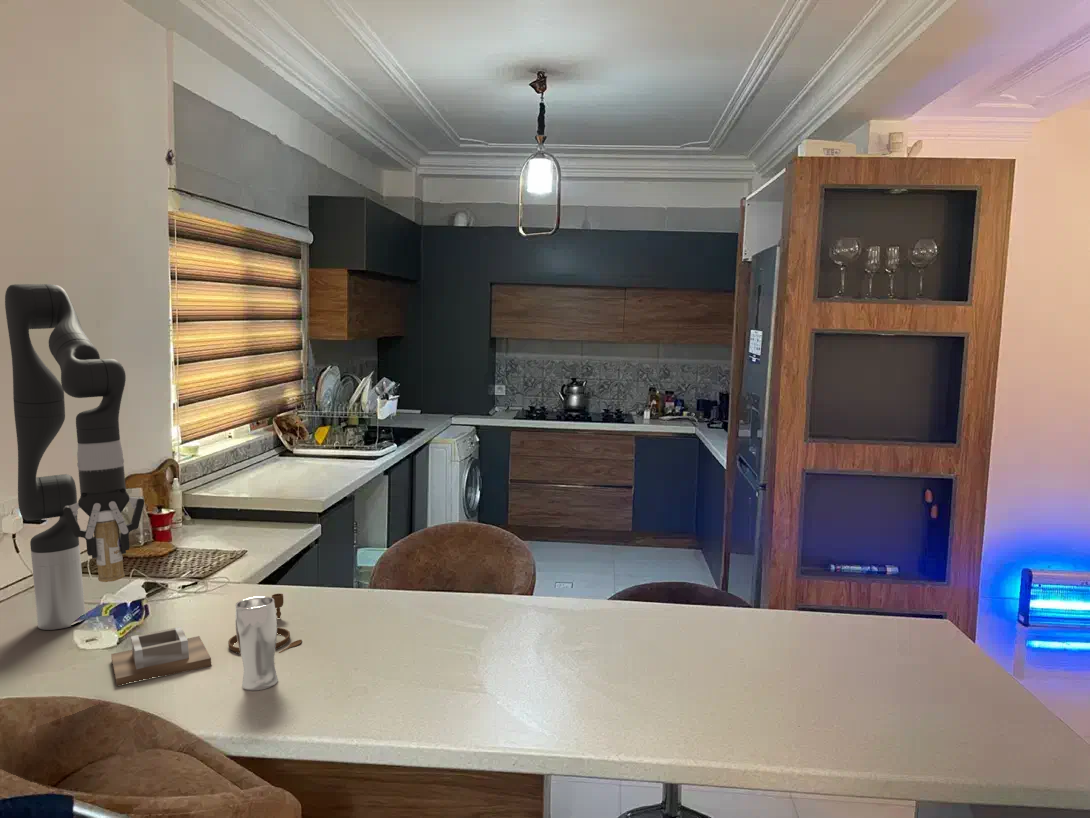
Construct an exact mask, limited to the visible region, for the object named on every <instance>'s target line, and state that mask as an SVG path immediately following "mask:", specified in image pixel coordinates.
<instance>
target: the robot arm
mask: <svg viewBox="0 0 1090 818" xmlns="http://www.w3.org/2000/svg"><path fill="white" fill-rule="evenodd" d="M4 308H5V316H6V317H5V318H6V323H7V331H8V337H9V345H10V346H9V347H10V353H11V364H12V366H11V367H12V385H13V386H12V394H13V397H12V399H13V409H14V410H13V411H14V414H13V415H14V422H15V423H14V424H15V430H16V431H15V432H16V442H17V503H18V504H17V505H18V509H19V513H20V516H21V518H22V519H23V520H25V521H38V520H46V519H52V518H59V519H58V520H57V522H56V523H54V525H52V526H51V527H49V528H48V529H45V530H44V531H41V532H39V533H38V534H36V535H34V536H32V537H31V539H30V542H29V543H30V555H31V564H32V566H31V567H32V575H33V576H32V577H33V585H34V586H33V588H34V599H35V600H34V601H35V608H36V609H35V610H36V621H37V622H36V623H37V628H38V629H40V630H43V631H44V630H46V631H49V630H50V631H51V630H61V629H66V628H70V627H72V626H71V624H72V622H73V621H74V620H76V619H77V618H78V617H79V616H81V615H82V614H84V613H85V614H86V607H85V595H84V594H85V593H84V584H83V583H84V582H83V572H82V571H83V570H82V560H81V550H80V549H81V548H80V539H79V538H82V539H85V541H86V543H85V544H86V553H87V556H89V557H91V559H96V549H95V538H94V530H95V526H96V522H97V519H98V515H99V512H101V511H106V510H111V511H112V513H113V515H114V517H115V520H116V522H117V524H118V526H119V531H120V532H119V533H120V541H121V550H122V555H124V554H125V555H126V554H127V551H130V548H131V547H130V536H129V534H130V533H131V532H132V531H134V530H137V529H139V526H140V522H141V518H142V513H143V510H144V505H145V499H144V498H143V497H141V496H139V497H134V496H130V495H129V494H128V492H127V489H126V487H127V486H126V475H125V464H124V463H125V459H124V453H123V448H122V444H121V437H120V436H121V435H120V424H119V423H120V422H119V419H120V418H119V417H120V411H121V410H120V409H121V405H122V398H123V394H124V391H125V385H126V379H127V377H126V370H125V369H124V366H123V365H122V363H121V362H120V361H118V360H117V359H114V358H101V357H100V356H101V355H100V354H99V351H98V349H97V347H96V346H95V345H94V344H93V343H92V341H91V340H90V338H89V337H88V335H86V333H85V332H84V329H83V328H82V325H81V322H80V320H79V318H78V315H77V312H76V310H75V307H74V305H73V303H72V300H71V299H70V297H69V295H68V293H67V291H66V290H65V289H64V288H63V287H62V286H60V285H57V284H51V283H42V284H41V283H40V284H38V283H37V284H35V283H19V284H18V283H17V284H16V283H14V284H10V285H8V287H7V288H6V290H5V295H4ZM39 329H40V330H41V329H43V330H44V329H53V330H52V331H51V333H50V335H49V337H48V348H49V352H50V353H51V355H52V357H53V358H54V360H55V361H56V362H57V364H58V366H59V368H60V381H59V379H58V377H56V375H55V374H54V373H53V372H52V371H51V369H50V368H49V367H48V366H47V365H46V364H45V363H44V361H43V360H42V359H41V357H40V356H39V355H38V353H37V352H36V350H35V348H34V346H33V344H32V343H33V342H32V340H31V336H30V330H39ZM65 393H66V394H67V396H69V397H72V398H77V399H86V398H98V397H101V398H102V400H101V401H100V403H99V405H98V406H96V407H94V408H90V409H88V410H83V411H81V412H79V413H78V414H76V417H75V427H76V428H75V430H76V439H77V441H76V442H77V452H76V453H77V454H76V458H77V469H78V471H77V472H78V479H79V481H78V482H79V493H80V495H79V496H80V497H79V498H78V496H77V495H78V493H77V492H78V491H77V486H76V485H77V484H76V481H75V480H74V478H73V476H72V475H71V474H67V473H65V474H55V475H54V474H53V475H46V476H37V473H38V469H39V466H40V462H41V460H42V458H43V456H44V454H45V452H46V451H47V449H48V448H49V446H50V445H51V443H52V442H53V440H54V439H55V438H56V436H57V435H58V433H59V432H60V430H61V428H62V426H63V424H64V422H65V419H66V406H65V405H66V404H65ZM128 503H130V506H131V508H132V509H133V513H132V517H131V520H130V521H131V522H130V523H128V524H127V523H126V521H125V520H124V517H123V515H122V512H123V511H124V509H125V508H126V506H127V505H128ZM79 509H81V510H82V511H83V512H84V513H85V515H87V516H88V517H89V518H88V521H87V524H86V525H87V526H86V529H81V526H80V525H79V523H78V514H79V513H78V510H79ZM94 515H95V516H94ZM93 520H94V521H93Z"/></svg>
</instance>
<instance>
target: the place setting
mask: <svg viewBox="0 0 1090 818" xmlns="http://www.w3.org/2000/svg"><path fill="white" fill-rule="evenodd" d="M271 598H273V599H274V603H275V610H276V617H277V618H280V617H281V615H282V613H281V608H282V607H283V606H284V593H274V594H271ZM277 633H278V634H281V635H282V637H284V639H283V640H279V641H278V642H276V647H275V650H277V649H279V648H281V647H283V646H285V645H286V644H288V642H289V641H290V638H291V632H290V631H289V630H288V629H286V628H283V627H278V626H277ZM281 635H280V636H281ZM227 642H228V647H229V649H230V650H231V651H232V652H233V653H236V652H237V653H236V654H241V653H240V649H239V646H238V647H237V646H235V645H234V643H236V642H237V636H236V634H235V635H233V636H232V637H231V638H229V640H228V641H227ZM302 642H303V640H302V639H297V640H294V641H293V642H290V643H289V645H288V646H287V647H285V648H283V649H281V650H280V651H279V652H278V654H282V653H283V652H285V651H287V650H289V649H291V648H295V647H298V646H300V645H301V644H302ZM237 643H238V642H237ZM233 645H234V646H233Z"/></svg>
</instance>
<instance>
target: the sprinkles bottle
mask: <svg viewBox="0 0 1090 818" xmlns="http://www.w3.org/2000/svg"><path fill="white" fill-rule="evenodd" d="M94 516H95V515H94ZM93 521H94V520H93ZM120 533H121V532H120V528H119V526H118V524H117V522H116V520H115V517H114V515H113V513H112V511H111V510H106V511H101V512H99V515H98V519H97V522H96V526H95V530H94V533H93V537H94V538H95V549H96V558H95V559H96V565H97V573H98V574H97V575H98V577H97V580H98V582H101V583H108V582H115V581H118V580H121V579H123V578H124V577H126V575H125V572H124V565H123V554H122V550H121V540H120Z"/></svg>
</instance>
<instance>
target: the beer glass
mask: <svg viewBox="0 0 1090 818" xmlns="http://www.w3.org/2000/svg"><path fill="white" fill-rule="evenodd" d="M234 606H235V615H234V618H235V624H234V625H235V635H236V636H237V641H238V642H237V644H238V648H239V649H240V653H239V654H240V657H241V659H242V667H243V671H242V672H243V674H242V675H243V676H242V682H241V683H242V684H241V687H242V688H243V689H244V690H246V691H262V690H266V689H270V688H272V687H273V686H275V685H276V684H277V683H278V680H279V678H278V675H277V669H276V664H275V655H276V654H275V653H276V649H275V647H276V643H277V636H278V635H277V627H278V620H277V616H276V612H277V610H276V608H275V603H274V599H273V598H272V596H271V597H270V596H264V595H263V596H253V597H252V596H251V597H248V598H244V599H241V600H239V601H238V602H236V603H235V605H234Z"/></svg>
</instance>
